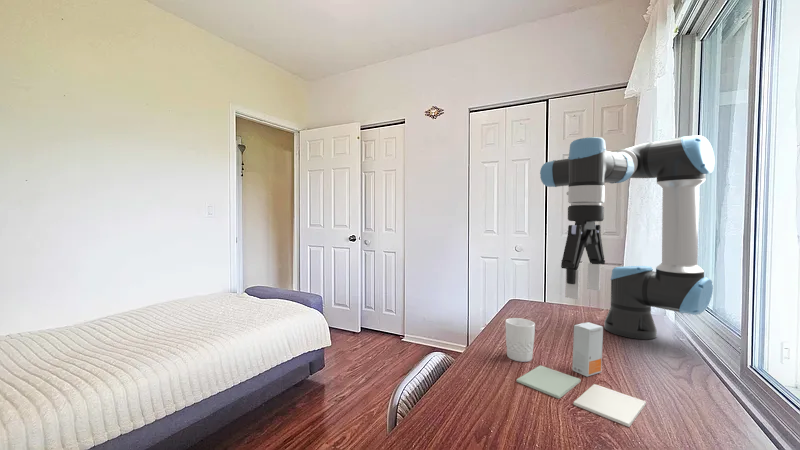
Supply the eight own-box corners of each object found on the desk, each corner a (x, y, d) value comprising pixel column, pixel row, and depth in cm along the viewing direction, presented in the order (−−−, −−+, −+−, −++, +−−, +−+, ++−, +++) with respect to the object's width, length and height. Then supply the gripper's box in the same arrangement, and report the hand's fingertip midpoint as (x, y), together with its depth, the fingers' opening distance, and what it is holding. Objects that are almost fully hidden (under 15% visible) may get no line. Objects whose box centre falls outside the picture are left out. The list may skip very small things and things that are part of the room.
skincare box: (587, 377, 83) (588, 329, 83) (571, 370, 87) (573, 324, 87) (602, 372, 86) (603, 326, 86) (586, 366, 90) (587, 321, 90)
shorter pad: (540, 367, 89) (540, 365, 89) (580, 381, 81) (580, 379, 81) (516, 381, 81) (516, 379, 81) (559, 398, 73) (559, 396, 73)
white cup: (536, 364, 91) (537, 327, 90) (506, 361, 92) (507, 325, 92) (531, 353, 98) (532, 318, 98) (503, 350, 100) (504, 317, 100)
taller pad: (594, 386, 79) (594, 383, 79) (645, 404, 72) (645, 401, 72) (573, 404, 71) (573, 401, 71) (629, 427, 64) (629, 423, 64)
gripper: (587, 206, 91) (586, 284, 92) (546, 203, 74) (544, 298, 75) (619, 205, 86) (617, 289, 86) (582, 202, 69) (580, 305, 69)
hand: (583, 293), depth 81 cm, fingers open, 13 cm apart
